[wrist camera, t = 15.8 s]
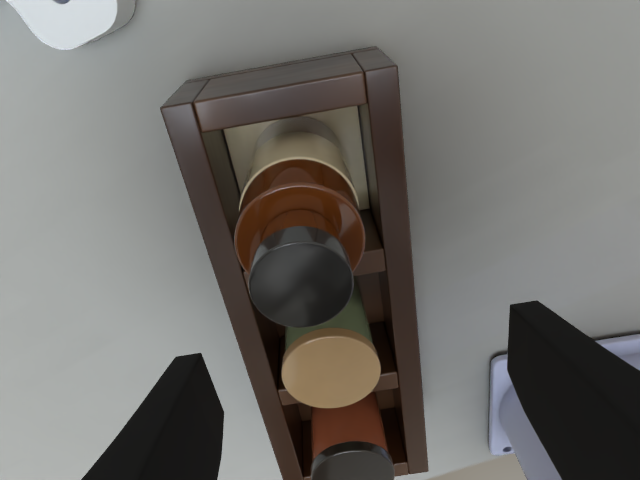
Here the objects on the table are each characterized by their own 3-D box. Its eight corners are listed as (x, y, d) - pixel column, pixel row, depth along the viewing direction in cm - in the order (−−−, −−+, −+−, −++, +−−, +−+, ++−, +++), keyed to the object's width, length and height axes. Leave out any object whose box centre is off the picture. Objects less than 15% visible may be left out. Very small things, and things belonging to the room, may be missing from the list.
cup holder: (377, 45, 17) (397, 64, 14) (411, 407, 27) (428, 471, 24) (185, 80, 18) (159, 107, 14) (287, 426, 27) (287, 492, 24)
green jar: (356, 246, 21) (375, 328, 16) (366, 310, 23) (385, 401, 18) (276, 260, 21) (271, 345, 16) (292, 321, 23) (291, 415, 18)
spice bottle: (338, 106, 18) (371, 205, 10) (350, 195, 19) (386, 334, 12) (240, 123, 18) (202, 232, 10) (262, 210, 20) (243, 356, 12)
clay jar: (371, 350, 24) (391, 445, 19) (378, 399, 26) (398, 496, 21) (301, 361, 24) (303, 458, 19) (313, 409, 26) (318, 508, 21)
